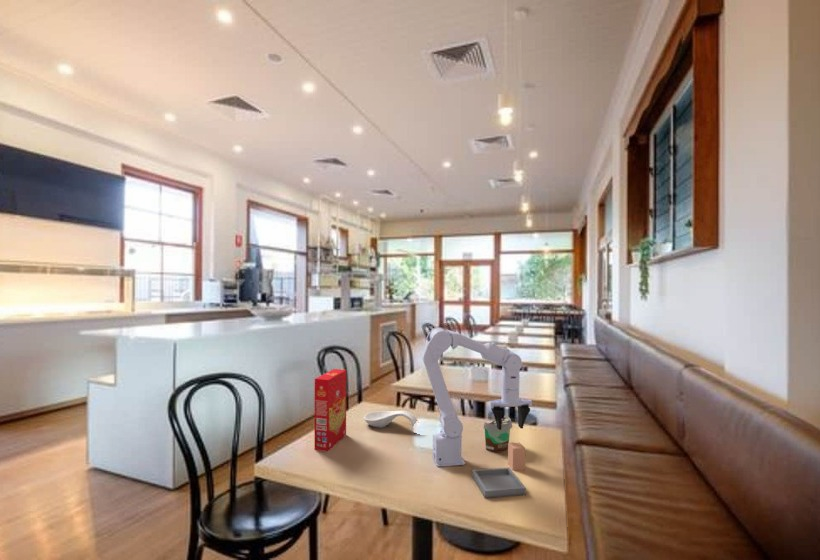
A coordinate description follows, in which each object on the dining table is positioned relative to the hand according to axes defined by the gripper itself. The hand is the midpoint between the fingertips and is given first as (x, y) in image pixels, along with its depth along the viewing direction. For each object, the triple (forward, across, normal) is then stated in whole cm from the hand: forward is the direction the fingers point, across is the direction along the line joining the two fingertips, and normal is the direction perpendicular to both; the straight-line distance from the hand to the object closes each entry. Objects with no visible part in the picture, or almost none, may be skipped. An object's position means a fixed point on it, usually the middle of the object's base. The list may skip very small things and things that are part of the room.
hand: (509, 428), depth 136 cm
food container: (+11, 0, -7) cm, 13 cm away
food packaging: (+11, +60, -22) cm, 65 cm away
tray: (+10, +10, +16) cm, 21 cm away
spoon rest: (+11, +36, -33) cm, 50 cm away
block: (+10, 0, +6) cm, 12 cm away
